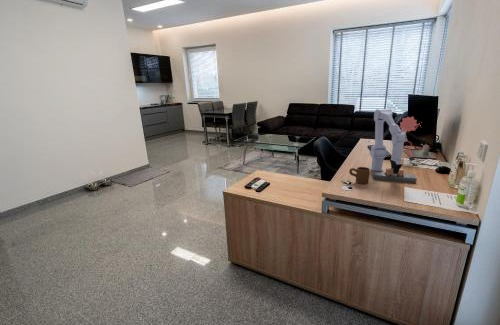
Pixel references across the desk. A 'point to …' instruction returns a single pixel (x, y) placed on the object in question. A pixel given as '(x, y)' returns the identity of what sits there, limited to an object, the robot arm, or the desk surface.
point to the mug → (361, 174)
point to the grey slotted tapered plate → (394, 177)
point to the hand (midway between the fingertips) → (394, 172)
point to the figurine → (408, 127)
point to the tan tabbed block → (390, 171)
